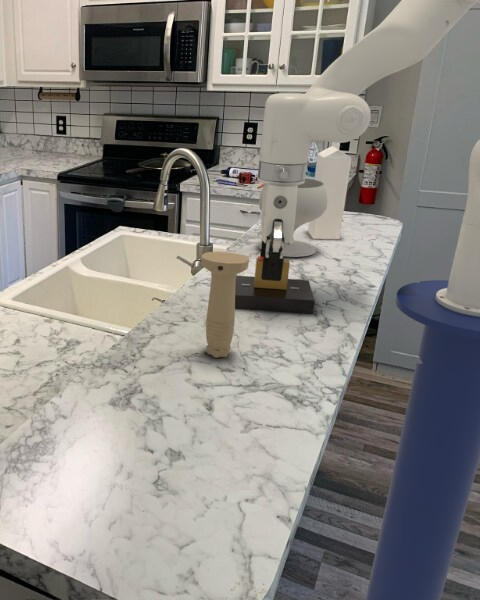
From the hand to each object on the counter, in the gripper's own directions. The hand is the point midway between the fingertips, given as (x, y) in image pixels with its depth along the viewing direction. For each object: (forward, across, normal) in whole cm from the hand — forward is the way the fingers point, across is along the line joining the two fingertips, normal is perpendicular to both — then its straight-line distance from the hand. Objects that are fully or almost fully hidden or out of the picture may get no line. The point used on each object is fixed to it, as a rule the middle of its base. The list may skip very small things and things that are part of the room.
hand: (269, 270), depth 107 cm
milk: (+5, +44, -14) cm, 47 cm away
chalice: (+6, +31, -5) cm, 32 cm away
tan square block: (+3, 0, 0) cm, 3 cm away
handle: (+6, -23, +8) cm, 25 cm away
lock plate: (+6, 0, 0) cm, 6 cm away
